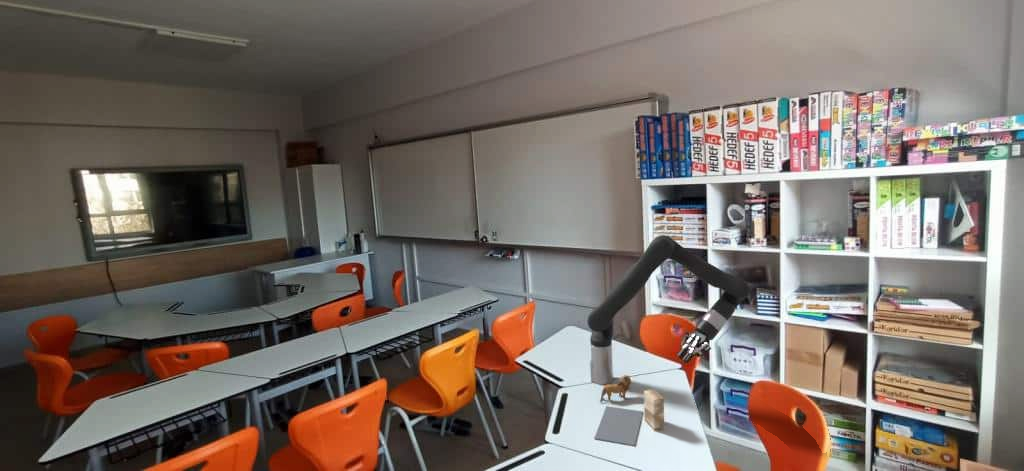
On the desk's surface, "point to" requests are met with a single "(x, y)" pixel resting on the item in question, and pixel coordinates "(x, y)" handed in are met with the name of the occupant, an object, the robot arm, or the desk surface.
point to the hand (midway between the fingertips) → (681, 359)
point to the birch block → (654, 409)
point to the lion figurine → (617, 388)
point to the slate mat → (619, 426)
